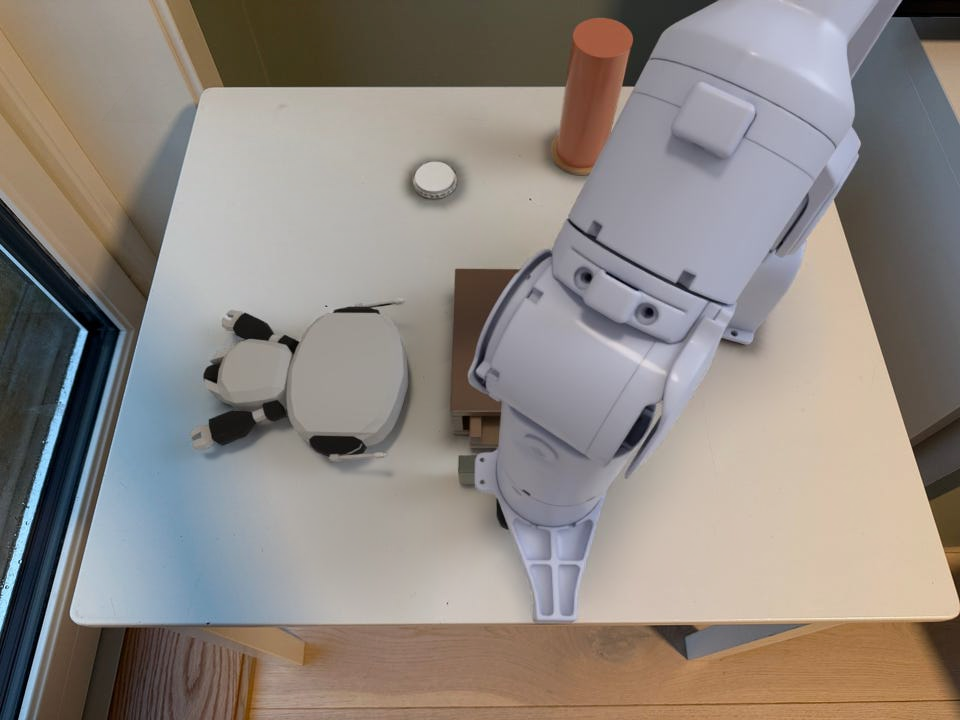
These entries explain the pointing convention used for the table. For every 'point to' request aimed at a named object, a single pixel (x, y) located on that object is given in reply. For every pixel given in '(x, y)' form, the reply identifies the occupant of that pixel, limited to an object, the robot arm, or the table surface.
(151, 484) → the table surface
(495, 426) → the drawer
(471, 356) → the cabinet
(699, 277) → the robot arm
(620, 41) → the orange cylinder post
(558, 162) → the coaster
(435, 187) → the white bottle cap
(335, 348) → the robot toy
